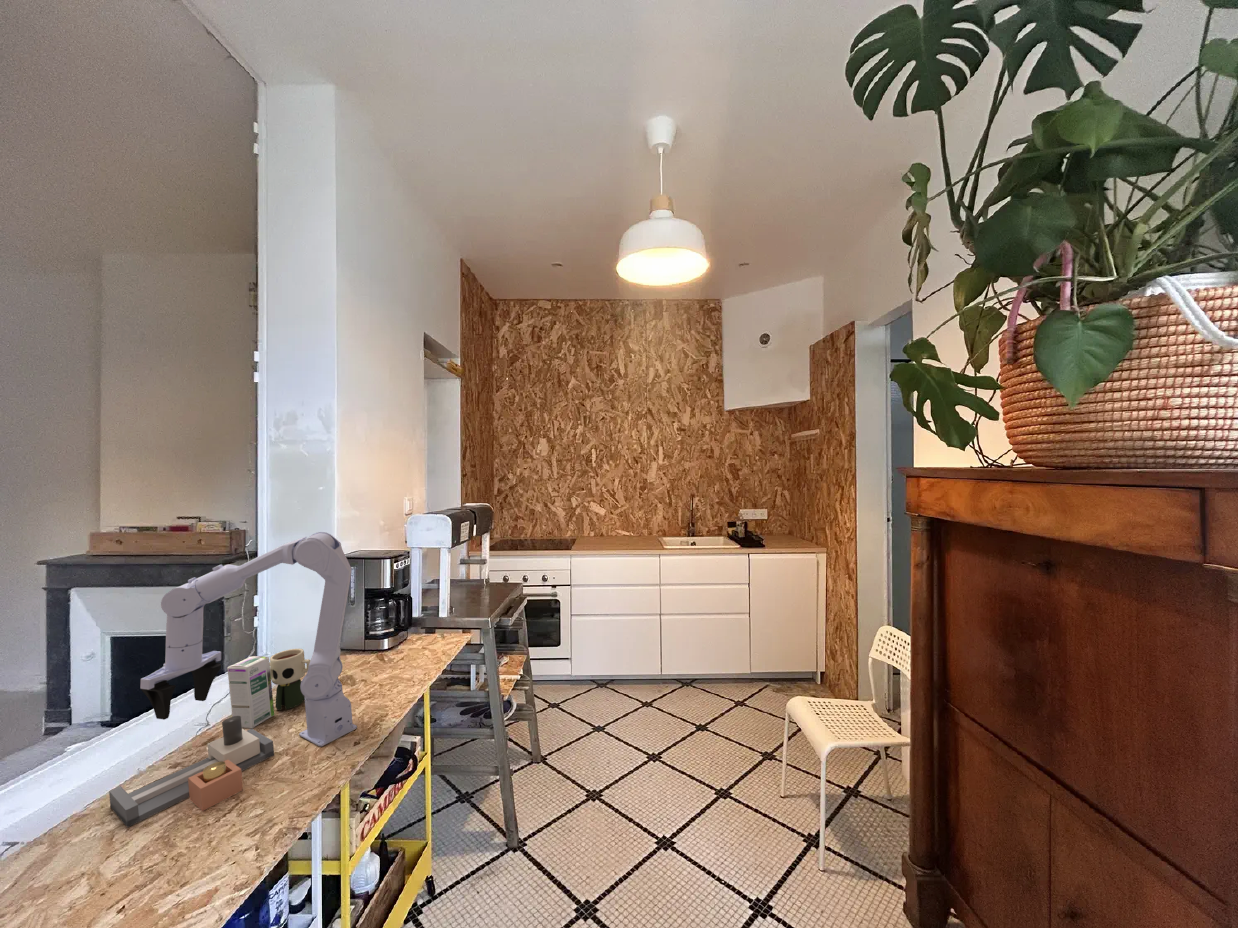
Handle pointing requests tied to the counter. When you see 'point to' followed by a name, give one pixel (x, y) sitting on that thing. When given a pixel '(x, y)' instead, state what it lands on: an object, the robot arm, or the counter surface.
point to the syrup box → (251, 690)
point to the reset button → (214, 771)
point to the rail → (171, 787)
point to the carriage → (234, 743)
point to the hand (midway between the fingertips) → (182, 708)
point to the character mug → (288, 677)
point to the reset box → (215, 787)
